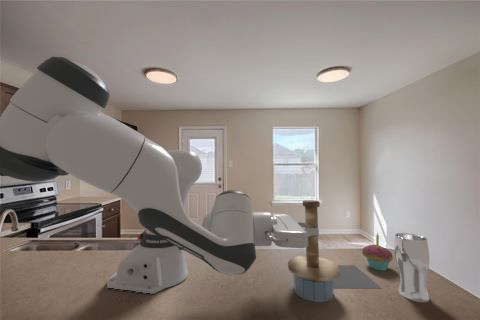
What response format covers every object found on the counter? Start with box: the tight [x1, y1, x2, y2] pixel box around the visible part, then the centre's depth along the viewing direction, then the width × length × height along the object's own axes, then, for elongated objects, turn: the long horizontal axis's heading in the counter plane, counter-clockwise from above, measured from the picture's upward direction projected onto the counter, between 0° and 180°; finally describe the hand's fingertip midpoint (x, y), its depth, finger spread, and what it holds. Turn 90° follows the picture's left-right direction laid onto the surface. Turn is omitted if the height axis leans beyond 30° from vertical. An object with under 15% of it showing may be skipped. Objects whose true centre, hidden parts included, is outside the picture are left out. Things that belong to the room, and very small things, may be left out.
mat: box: [333, 264, 383, 290], centre depth 64 cm, size 14×14×1 cm
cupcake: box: [361, 232, 394, 271], centre depth 70 cm, size 9×8×12 cm
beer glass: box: [394, 232, 430, 303], centre depth 54 cm, size 7×7×15 cm
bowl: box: [292, 273, 335, 303], centre depth 56 cm, size 10×10×5 cm
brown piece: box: [287, 199, 340, 282], centre depth 57 cm, size 13×13×18 cm
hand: (314, 228), depth 57 cm, fingers closed on brown piece, 3 cm apart
